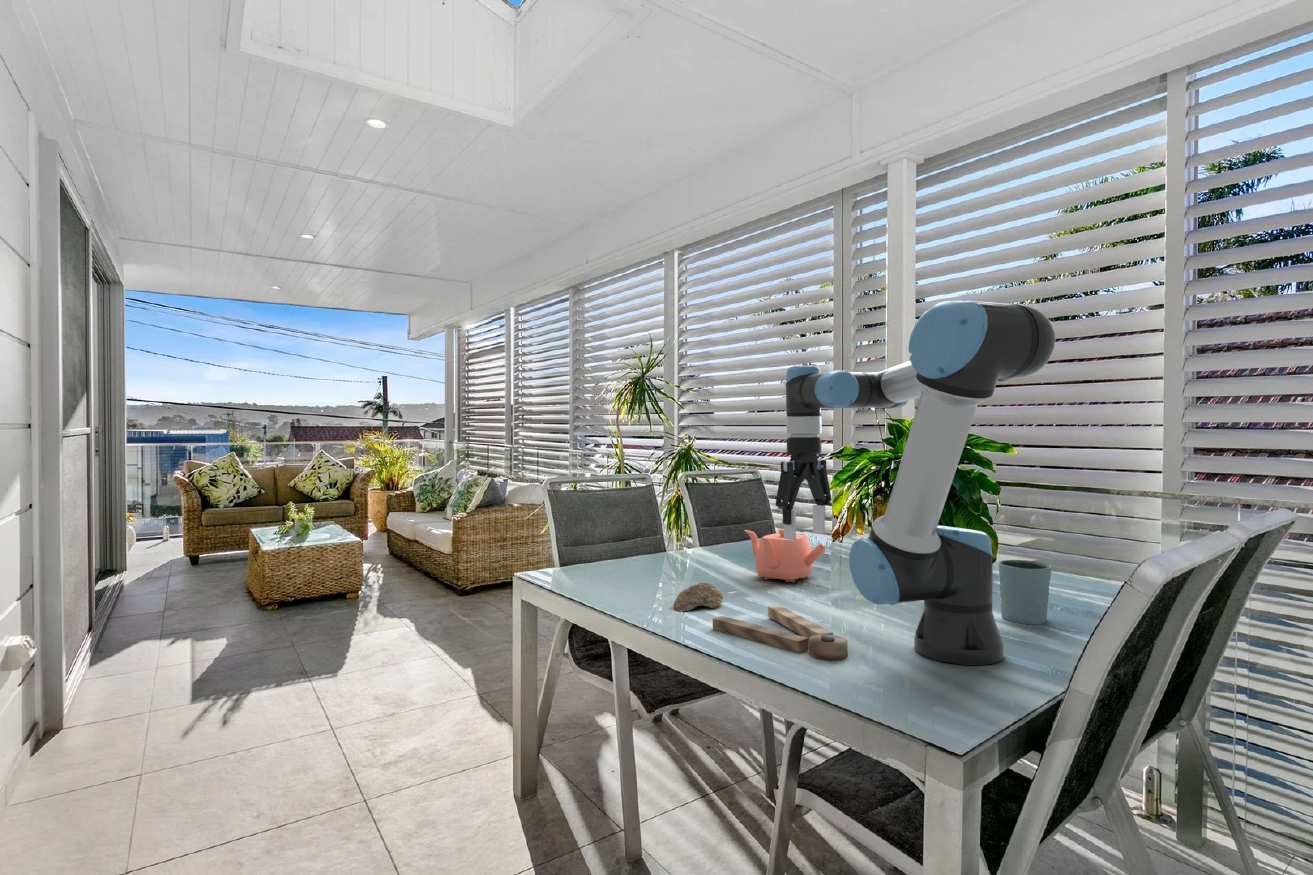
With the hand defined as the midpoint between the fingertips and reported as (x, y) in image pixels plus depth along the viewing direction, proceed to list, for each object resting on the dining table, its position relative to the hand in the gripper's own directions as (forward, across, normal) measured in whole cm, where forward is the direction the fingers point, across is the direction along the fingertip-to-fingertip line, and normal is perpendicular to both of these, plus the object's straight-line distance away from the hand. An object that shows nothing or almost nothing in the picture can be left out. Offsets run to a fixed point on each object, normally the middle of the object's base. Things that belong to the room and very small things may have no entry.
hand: (804, 536), depth 152 cm
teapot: (+18, -28, -28) cm, 44 cm away
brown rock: (+18, +10, -24) cm, 32 cm away
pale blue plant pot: (+18, -32, +34) cm, 50 cm away
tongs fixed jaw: (+18, +18, +7) cm, 26 cm away
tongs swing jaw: (+18, +10, +5) cm, 21 cm away
